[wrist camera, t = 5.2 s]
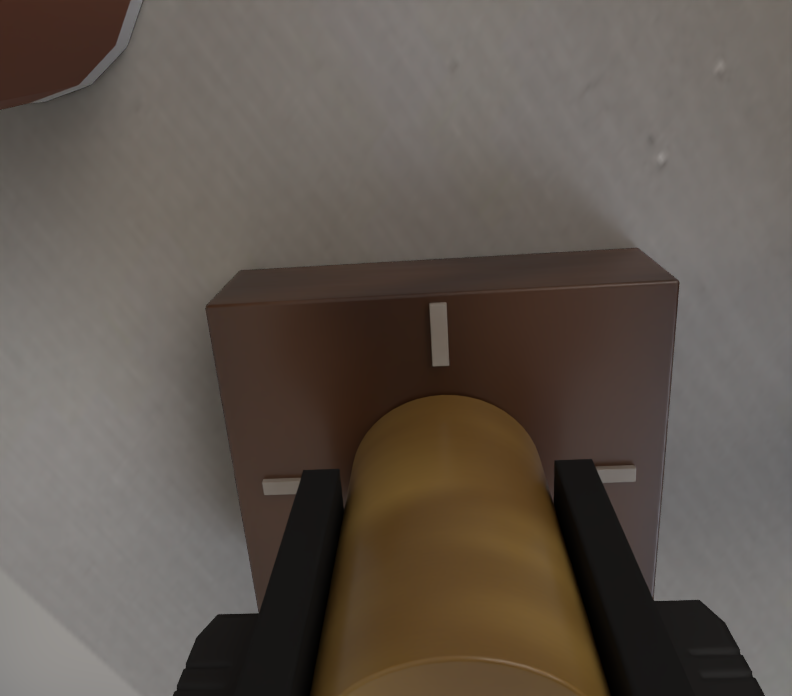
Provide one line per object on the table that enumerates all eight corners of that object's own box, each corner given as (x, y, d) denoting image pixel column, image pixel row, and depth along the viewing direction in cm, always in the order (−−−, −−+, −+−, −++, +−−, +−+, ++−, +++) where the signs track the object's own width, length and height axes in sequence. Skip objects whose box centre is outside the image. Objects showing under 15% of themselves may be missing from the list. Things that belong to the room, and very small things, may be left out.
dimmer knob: (542, 389, 15) (650, 674, 8) (541, 554, 17) (630, 918, 10) (343, 398, 15) (271, 682, 8) (360, 560, 17) (312, 918, 10)
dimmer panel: (639, 246, 17) (684, 282, 14) (621, 549, 20) (654, 629, 17) (238, 269, 18) (201, 307, 15) (283, 560, 21) (260, 639, 18)
